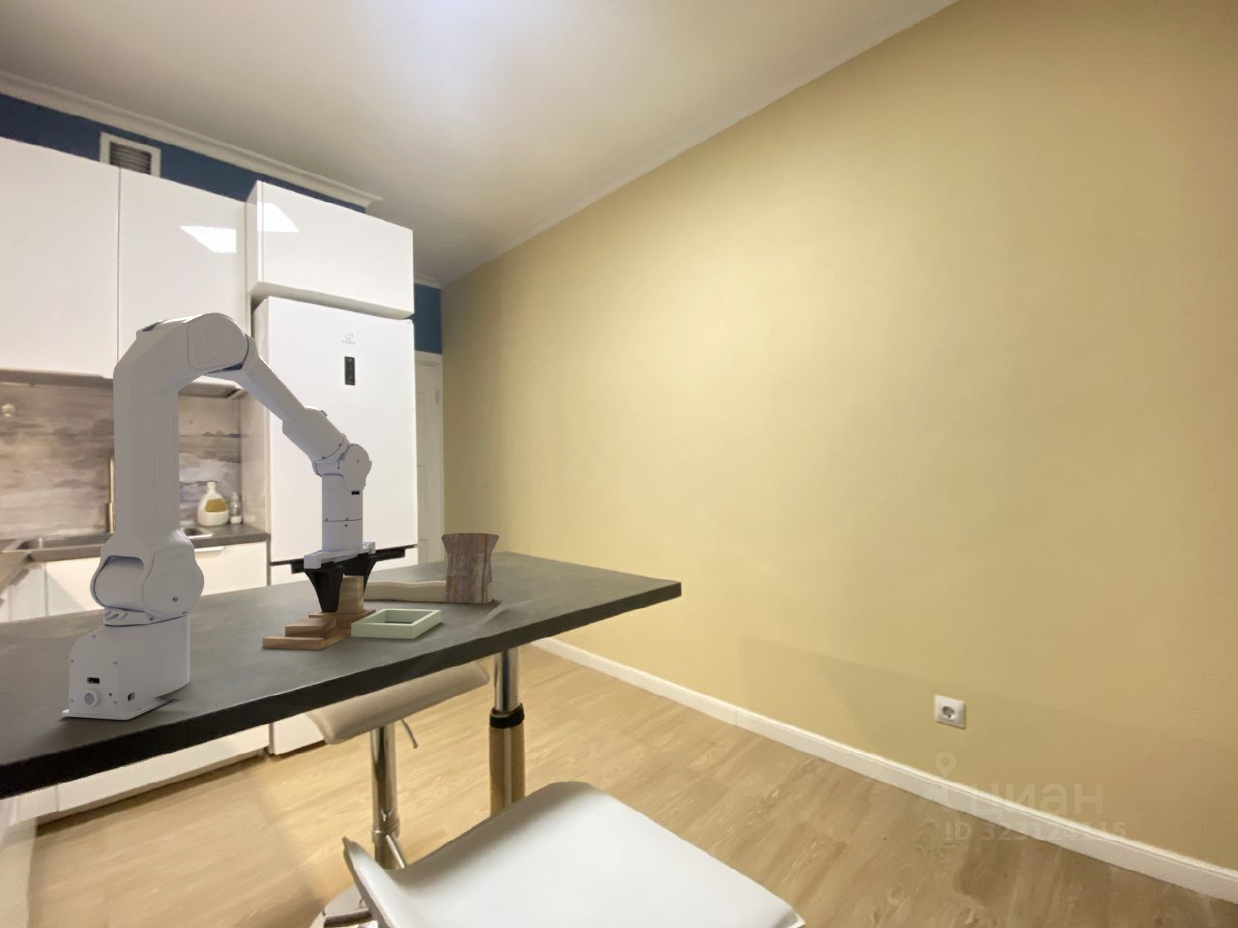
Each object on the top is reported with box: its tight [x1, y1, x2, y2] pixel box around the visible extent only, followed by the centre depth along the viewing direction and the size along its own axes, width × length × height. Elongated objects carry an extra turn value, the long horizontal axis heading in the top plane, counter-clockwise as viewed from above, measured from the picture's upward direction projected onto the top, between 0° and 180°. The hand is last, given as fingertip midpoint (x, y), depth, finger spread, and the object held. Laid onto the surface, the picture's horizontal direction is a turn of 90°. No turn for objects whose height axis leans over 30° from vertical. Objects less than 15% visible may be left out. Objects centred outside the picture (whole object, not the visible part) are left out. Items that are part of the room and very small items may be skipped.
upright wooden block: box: [322, 576, 365, 614], centre depth 83 cm, size 2×6×8 cm, turn 82°
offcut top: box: [284, 617, 336, 636], centre depth 76 cm, size 4×5×1 cm
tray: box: [350, 608, 442, 640], centre depth 81 cm, size 9×10×3 cm
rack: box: [261, 608, 377, 650], centre depth 79 cm, size 14×9×3 cm, turn 173°
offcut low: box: [284, 627, 337, 641], centre depth 76 cm, size 4×5×1 cm
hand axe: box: [364, 532, 500, 604], centre depth 100 cm, size 35×3×14 cm, turn 83°
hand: (342, 606), depth 83 cm, fingers open, 6 cm apart
